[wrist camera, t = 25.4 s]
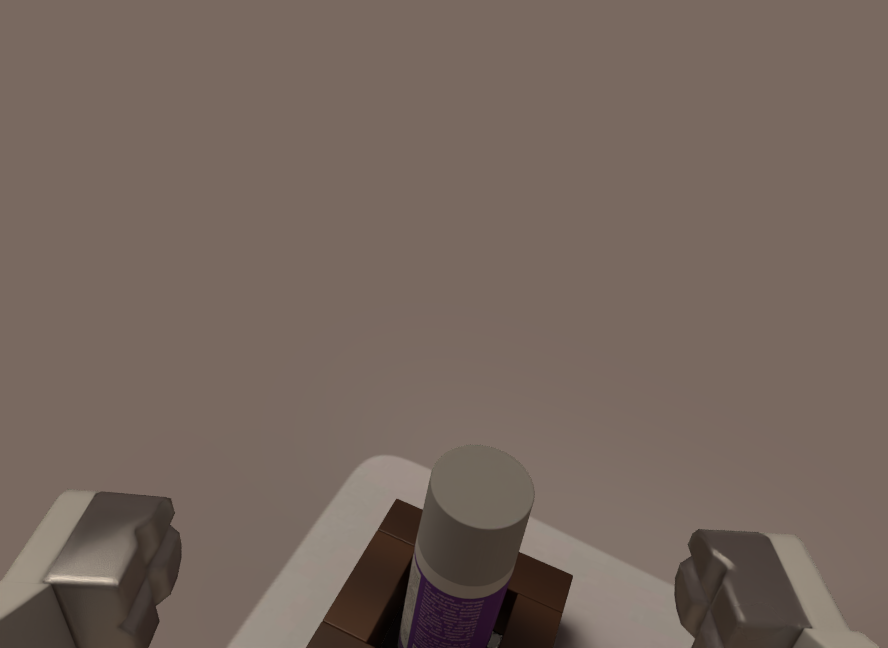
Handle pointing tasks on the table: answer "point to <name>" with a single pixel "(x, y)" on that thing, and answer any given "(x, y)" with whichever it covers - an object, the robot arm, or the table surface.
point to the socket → (386, 581)
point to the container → (465, 548)
